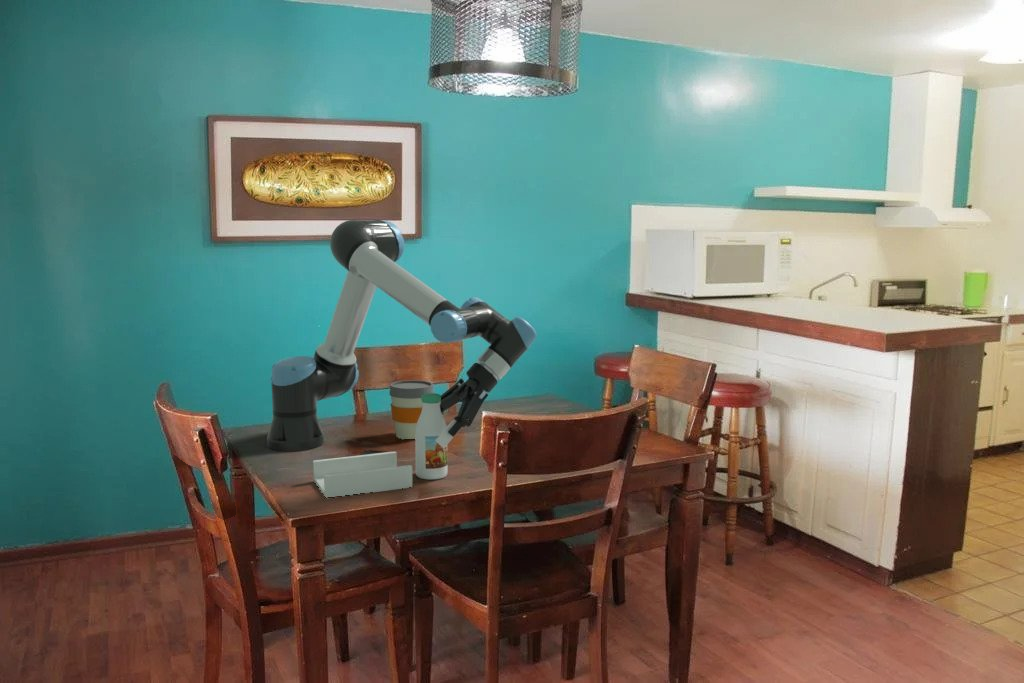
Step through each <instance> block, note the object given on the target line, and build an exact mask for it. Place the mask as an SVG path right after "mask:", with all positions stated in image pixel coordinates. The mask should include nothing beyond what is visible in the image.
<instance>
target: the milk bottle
mask: <svg viewBox="0 0 1024 683" xmlns="http://www.w3.org/2000/svg"><path fill="white" fill-rule="evenodd" d="M441 395H442V394H440V393H435V392H434V393H427V394H423V395H422V405H423V407H422V412H421V415H420V417H419V419H418V421H417V425H416V434H415V440H414V443H415V445H414V447H415V449H414V450H415V452H414V453H415V454H414V455H415V476H416V477H417V478H419V479H423V480H430V481H431V480H439V479H444V478H445V477H446V476H448V460H449V459H448V444H447V445H446V446H445V448H443V447H441V446H440V445H439V444H438V443H437V442H436V441H435V440H436V439H437V438H438V436H439V435H440V434H441V433H442V432H443V431H444V430H445V428H446V427H447V426H448V425H447V422H446V420H445V418H444V416H443V415H444V414H443V415H442V413H441V410H440V404H441Z"/></svg>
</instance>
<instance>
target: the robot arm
mask: <svg viewBox="0 0 1024 683" xmlns="http://www.w3.org/2000/svg"><path fill="white" fill-rule="evenodd" d="M329 246H330V251H331V253H332V256H333V257H334V259H335V260H336V261H337V263H338V264H339V265H341V267H343V268H344V269H345V270H347V273H346V276H345V279H344V282H343V285H342V287H341V288H342V289H341V292H340V295H339V297H338V300H337V302H336V307H335V309H334V312H333V315H332V318H331V322H330V324H329V327H328V330H327V333H326V336H325V339H324V342H323V343H321V344H319V345H318V346H316V349H315V352H314V355H313V357H312V356H306V355H298V356H297V355H296V356H294V357H292V356H290V357H285V358H282V359H280V360H278V361H276V362H275V363H274V364H273V365H272V366H271V367H272V368H271V375H270V376H271V377H270V382H271V400H272V401H271V402H272V419H271V423H270V427H269V430H268V432H267V433H268V434H267V437H266V446H267V447H268V448H270V449H272V450H276V451H282V452H283V451H285V452H287V451H289V452H290V451H291V452H295V451H305V450H310V449H311V450H312V449H314V448H315V449H316V448H317V447H320V446H322V445H324V443H325V435H324V431H323V427H322V426H321V423H320V420H319V417H318V413H317V411H318V410H317V408H318V407H317V403H318V402H320V401H323V400H328V399H330V398H334V397H335V398H336V397H339V396H342V395H344V394H346V393H349V392H351V390H353V389H354V387H355V386H356V385H357V383H358V380H359V376H360V374H359V372H360V370H358V364H357V360H358V359H357V357H356V354H355V353H354V352H355V350H356V347H357V344H358V340H359V338H360V336H361V335H360V334H361V332H362V329H363V326H364V323H365V321H366V317H367V315H368V312H369V309H370V306H371V303H372V301H373V297H374V295H375V292H376V290H377V289H376V288H378V289H380V290H381V291H382V292H384V293H385V294H386V295H387V296H389V297H390V298H392V299H393V300H394V301H395V302H397V303H398V304H400V305H401V306H403V307H404V308H406V309H407V310H408V311H409V312H411V313H412V314H414V315H415V317H417V318H419V319H420V320H422V321H423V322H424V323H426V324H427V325H429V326H430V331H431V332H430V333H432V335H433V337H434V339H436V340H437V341H438V342H440V343H445V344H446V343H457V342H460V341H463V340H466V339H472V338H476V337H480V338H482V339H483V340H484V341H486V342H487V343H488V344H490V345H489V346H488V347H487V348H485V350H484V351H483V353H481V355H480V356H479V357H477V360H476V362H474V363H473V364H472V365H471V367H469V368H468V370H467V371H466V376H467V377H468V379H467V380H464V378H459V380H458V381H456V383H455V384H454V385H452V386H451V387H450V388H449V389H447V390H445V392H443V393H441V394H440V395H441V404H440V410H441V413H442V415H444V412H445V411H447V410H448V409H450V408H451V407H453V406H455V405H456V404H458V403H461V405H460V407H459V411H458V413H457V416H455V417H453V420H451V421H450V423H449V424H448V425H446V426H447V427H446V428H445V430H444V431H443V432H442V433H441V434H440V435H439V436H438V438H437V439H436V440H435V441H436V442H437V443H438V444H439V445H440V446H441V447H443V448H445V446H446V445H447V446H448V445H449V443H450V442H451V441H452V440H453V439H454V437H455V436H456V435H457V434H458V433H459V432H460V430H461V429H462V428H465V427H467V428H469V427H471V426H472V424H473V421H474V420H475V418H476V416H477V414H478V412H479V410H480V409H481V407H482V404H483V403H484V401H485V400H486V399H487V397H488V396H489V394H488V393H490V392H491V391H492V390H493V389H494V388H495V387H496V386H497V385H498V383H499V382H498V381H499V380H501V379H502V378H503V377H504V376H507V374H508V372H509V370H511V368H512V367H513V366H514V365H515V364H516V362H518V360H519V359H521V357H522V356H523V355H524V354H525V352H526V351H527V350H529V348H530V346H531V345H532V344H533V343H534V341H535V339H536V338H537V335H538V334H537V331H536V329H534V327H533V326H532V325H531V324H530V323H529V322H528V321H527V320H525V319H524V318H522V317H520V316H515V317H513V318H512V319H511V320H510V319H508V318H507V317H505V316H503V315H502V314H501V313H499V312H498V311H497V310H496V309H495V308H493V307H492V306H491V305H489V303H487V301H484V300H482V299H480V298H479V297H476V296H473V297H470V298H469V299H468V300H466V301H465V302H464V303H463V304H462V305H461V306H460V307H458V306H456V305H455V304H453V303H452V302H450V300H448V299H447V298H445V297H444V296H442V295H441V294H440V293H438V292H437V291H436V290H435V289H432V288H431V287H430V286H428V285H427V284H426V283H425V282H423V281H422V280H420V279H419V278H417V277H416V276H414V275H413V274H411V273H410V272H409V271H407V270H406V269H405V268H404V267H402V266H401V265H399V264H398V263H396V262H397V261H399V260H400V259H401V257H402V255H403V254H404V250H405V240H404V236H402V232H401V230H400V228H398V226H397V225H396V224H395V223H394V222H392V221H388V220H382V219H374V220H373V219H371V220H369V219H368V220H367V219H349V220H345V221H343V222H341V223H340V224H338V225H337V226H336V228H335V229H334V230H333V231H332V233H331V236H330V241H329Z"/></svg>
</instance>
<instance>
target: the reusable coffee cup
mask: <svg viewBox="0 0 1024 683" xmlns="http://www.w3.org/2000/svg"><path fill="white" fill-rule="evenodd" d="M434 389H435V388H434V383H433V382H430V381H426V380H418V379H415V380H413V379H412V380H409V379H408V380H398V381H393V382H392V383H390V385H389V396H390V400H391V403H390V411H391V415H392V416H391V417H392V420H393V422H394V428H395V436H396V438H397V437H398V439H400V438H401V440H404V439H415V434H416V425H417V421H418V419H419V417H420V415H421V412H422V407H423V405H422V395H423V394H427V393H435V390H434Z"/></svg>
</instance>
